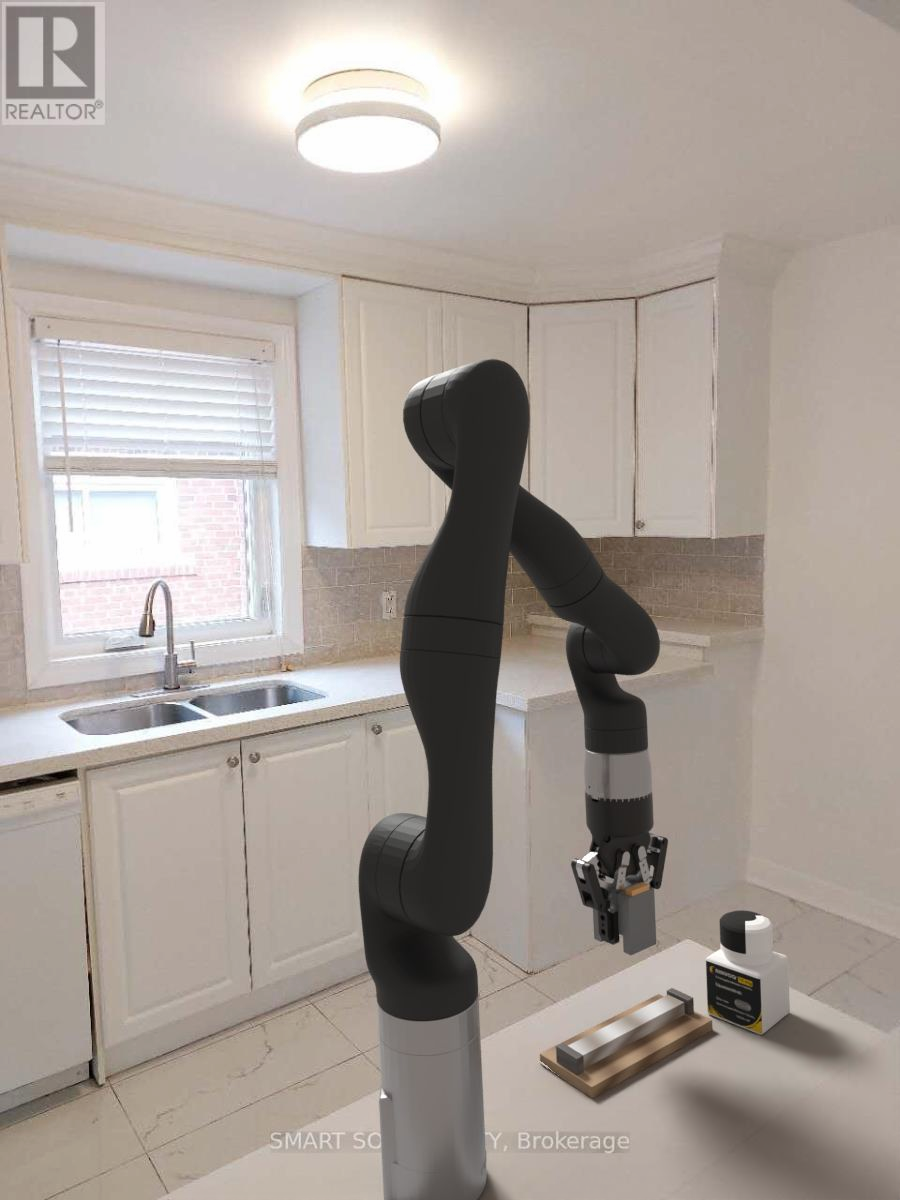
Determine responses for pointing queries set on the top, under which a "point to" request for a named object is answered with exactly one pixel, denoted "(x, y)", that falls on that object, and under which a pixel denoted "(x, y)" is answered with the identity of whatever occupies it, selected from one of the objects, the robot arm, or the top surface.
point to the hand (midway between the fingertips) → (624, 934)
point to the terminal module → (633, 916)
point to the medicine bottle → (747, 974)
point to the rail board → (631, 1052)
